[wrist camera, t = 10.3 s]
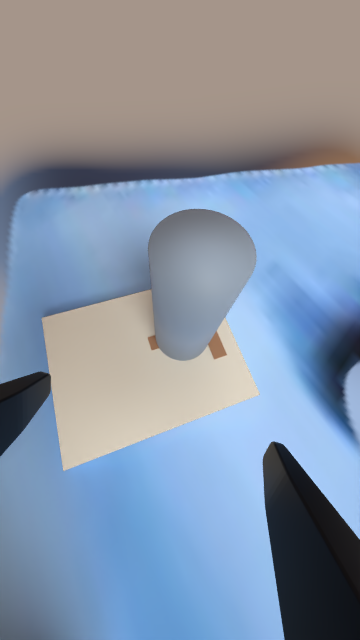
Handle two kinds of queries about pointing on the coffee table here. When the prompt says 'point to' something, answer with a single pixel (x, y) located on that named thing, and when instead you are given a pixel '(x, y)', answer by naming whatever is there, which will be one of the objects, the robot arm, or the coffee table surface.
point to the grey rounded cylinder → (196, 277)
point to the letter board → (132, 377)
